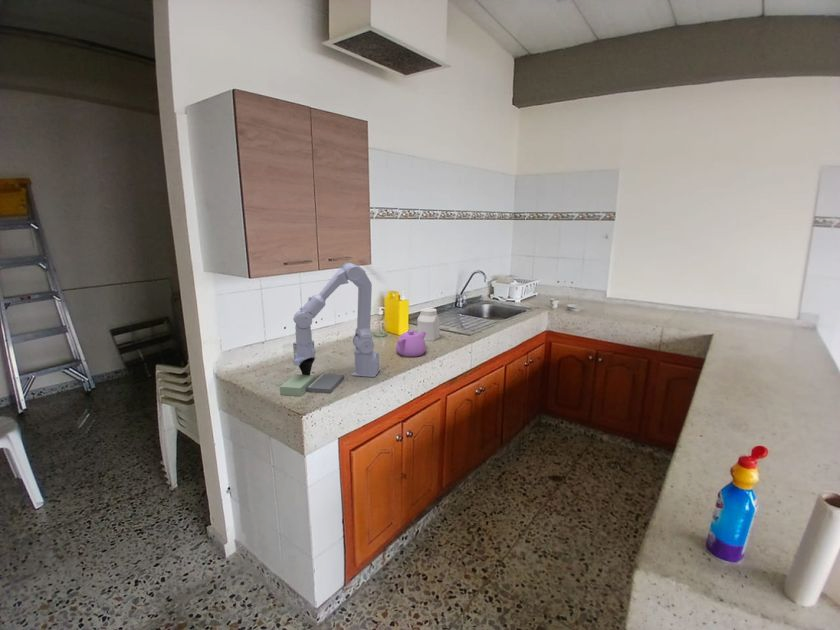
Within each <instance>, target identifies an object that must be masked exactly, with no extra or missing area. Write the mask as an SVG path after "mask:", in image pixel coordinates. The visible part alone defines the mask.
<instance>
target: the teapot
mask: <svg viewBox="0 0 840 630" xmlns="http://www.w3.org/2000/svg"><path fill="white" fill-rule="evenodd" d="M425 334H426V333H425V332H423V331H422V332H421V334H419V333H418V332H415V330H412V329H409V330H408V331H406V332H403V333H402V334H401V335H400V337H399V338H398V340H397V342H396V346H395V351H396V353H397V354H399V355H400V356H402V357H405V358H406V357H408V358H409V357H410V358H416V357H419V356H422V355H424V354H425V352H426V351H427V345H426V341H424V337H425Z"/></svg>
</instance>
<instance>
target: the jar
mask: <svg viewBox="0 0 840 630" xmlns="http://www.w3.org/2000/svg"><path fill="white" fill-rule="evenodd" d="M438 315H439V314H438V312H437V309H436V308H433V307H425V308H421V309H420V314H419V316H418V317H417V320H416V322H417V333H419V334H421V332H422V331H423V332H425V333H426V334H425V337H424V341H425V342H435V341H436V340H437V339H440V338H441V337H440V331H441V329H440V323H441V322H440V317H439V316H438Z"/></svg>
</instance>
